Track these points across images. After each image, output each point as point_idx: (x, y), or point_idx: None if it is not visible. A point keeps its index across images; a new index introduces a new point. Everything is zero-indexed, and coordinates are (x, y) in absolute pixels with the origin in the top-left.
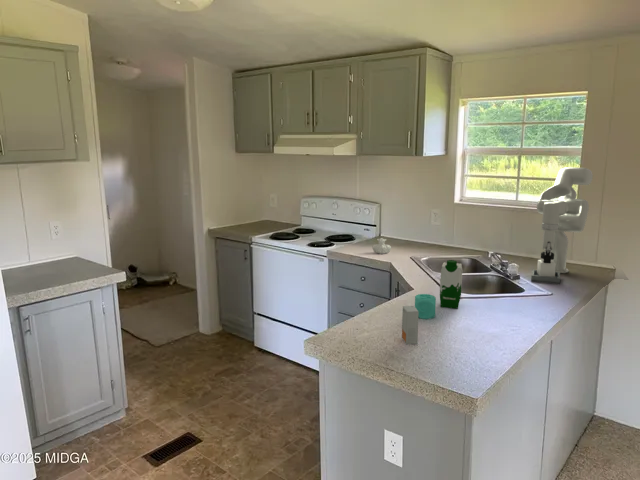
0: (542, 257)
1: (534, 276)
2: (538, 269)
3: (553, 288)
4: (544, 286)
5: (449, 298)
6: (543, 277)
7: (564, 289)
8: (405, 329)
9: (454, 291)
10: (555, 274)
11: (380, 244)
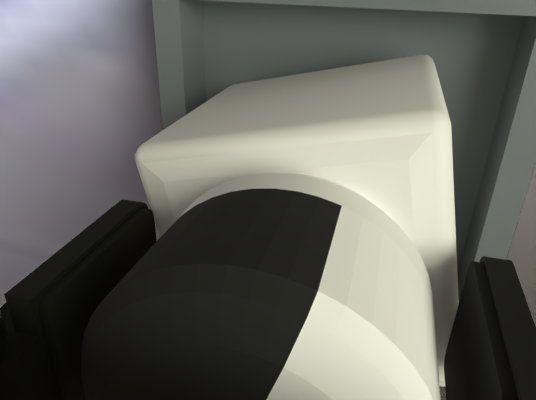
0: (169, 229)
1: (156, 8)
2: (321, 83)
3: (36, 174)
4: (53, 105)
5: None
6: (165, 122)
7: (57, 251)
8: None
9: None
10: (460, 283)
11: None
